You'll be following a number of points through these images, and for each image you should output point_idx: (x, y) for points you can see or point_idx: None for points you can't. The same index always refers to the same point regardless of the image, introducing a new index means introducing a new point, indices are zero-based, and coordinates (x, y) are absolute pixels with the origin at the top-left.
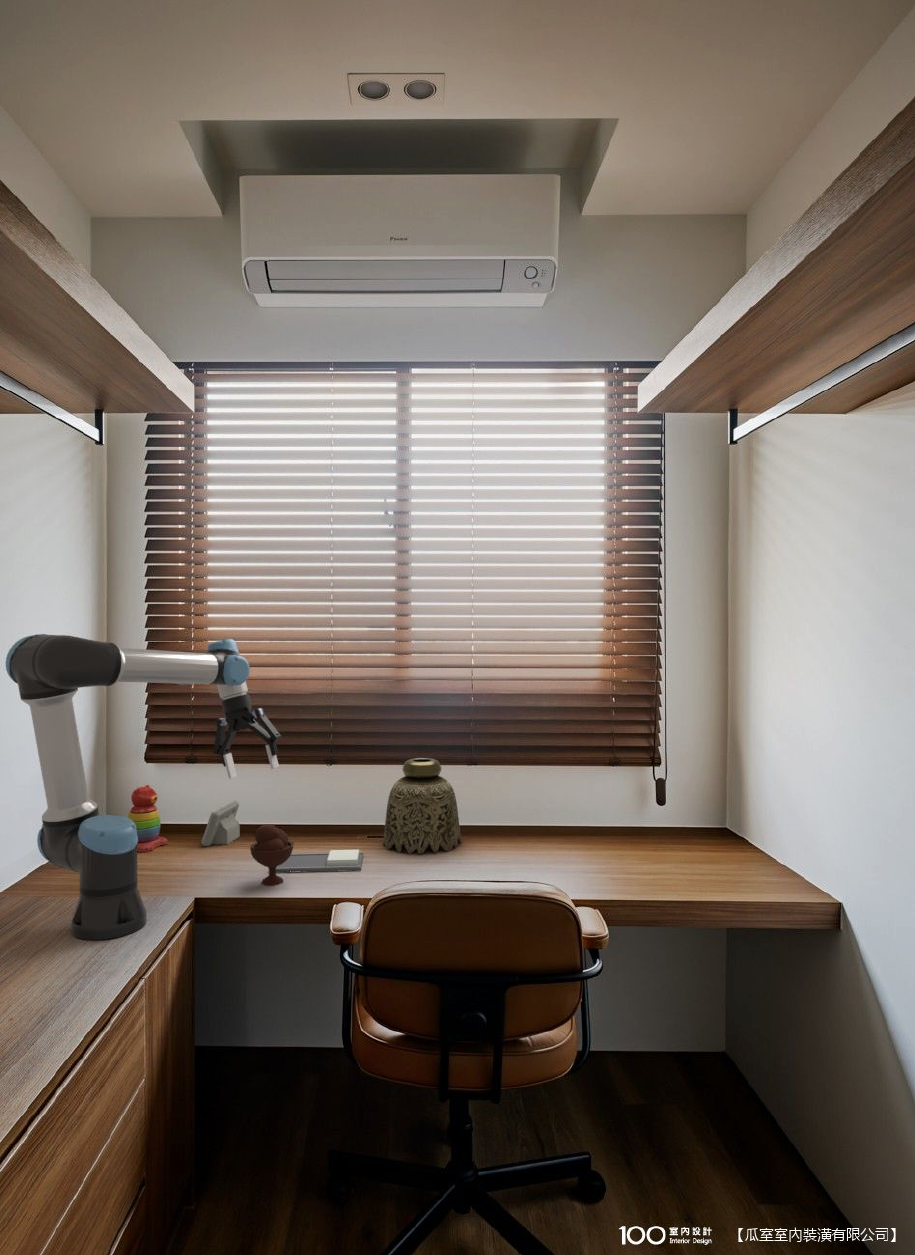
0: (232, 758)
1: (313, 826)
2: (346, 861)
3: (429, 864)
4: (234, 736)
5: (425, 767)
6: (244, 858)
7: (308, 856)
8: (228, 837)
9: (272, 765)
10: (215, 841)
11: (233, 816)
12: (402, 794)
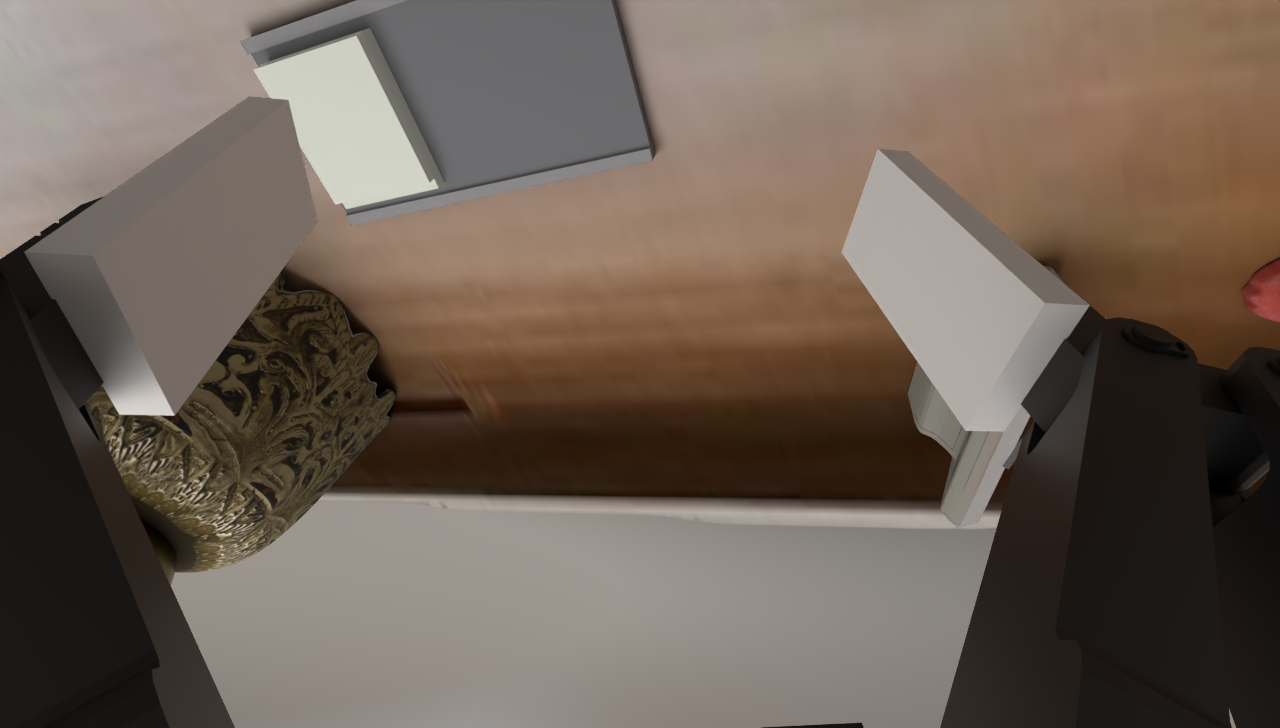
0: (927, 373)
1: (679, 487)
2: (292, 55)
3: (104, 155)
4: (957, 668)
5: None
6: (800, 130)
7: (519, 159)
8: None
9: (240, 113)
10: None
11: (950, 449)
12: (133, 418)
